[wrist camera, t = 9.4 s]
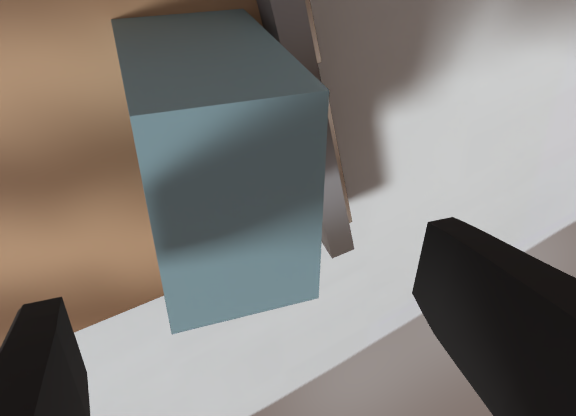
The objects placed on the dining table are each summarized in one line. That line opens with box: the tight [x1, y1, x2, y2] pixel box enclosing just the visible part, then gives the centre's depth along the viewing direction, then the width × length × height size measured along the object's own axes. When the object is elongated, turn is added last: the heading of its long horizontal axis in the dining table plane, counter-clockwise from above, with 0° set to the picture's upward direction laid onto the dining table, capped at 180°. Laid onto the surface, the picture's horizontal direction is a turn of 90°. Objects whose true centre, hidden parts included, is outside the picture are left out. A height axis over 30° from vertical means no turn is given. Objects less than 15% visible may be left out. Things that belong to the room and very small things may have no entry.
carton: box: [111, 9, 329, 334], centre depth 14 cm, size 4×6×7 cm
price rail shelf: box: [0, 0, 354, 347], centre depth 16 cm, size 15×15×3 cm
